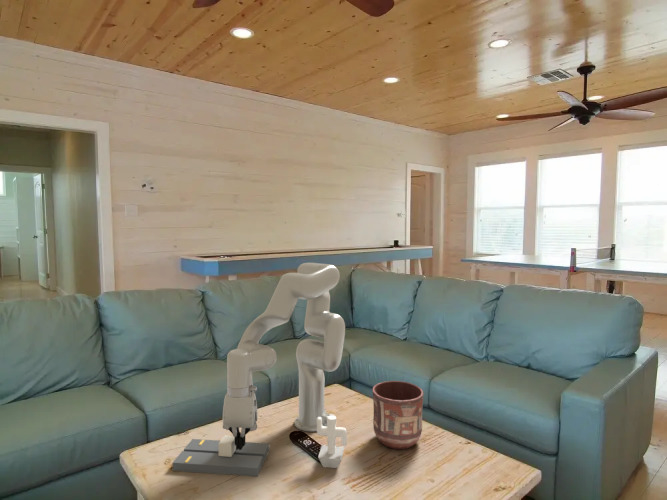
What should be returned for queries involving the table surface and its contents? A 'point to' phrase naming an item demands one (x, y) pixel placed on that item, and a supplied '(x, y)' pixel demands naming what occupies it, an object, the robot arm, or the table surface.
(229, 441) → the fader knob
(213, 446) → the fader board
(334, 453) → the figurine
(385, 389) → the pottery
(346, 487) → the table surface
